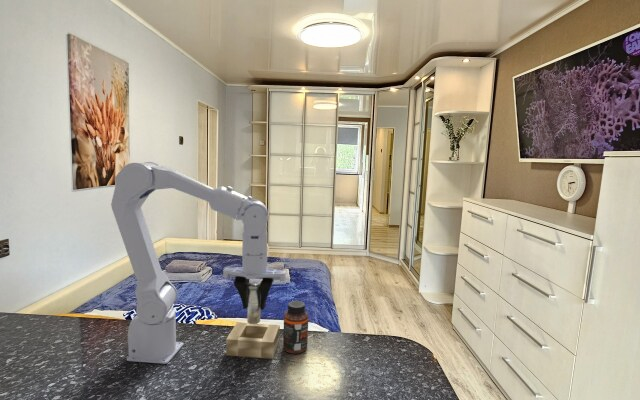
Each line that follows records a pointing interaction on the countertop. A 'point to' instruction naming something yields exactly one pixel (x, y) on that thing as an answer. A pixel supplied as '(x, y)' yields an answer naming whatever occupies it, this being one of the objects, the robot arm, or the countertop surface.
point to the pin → (253, 302)
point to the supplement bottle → (295, 328)
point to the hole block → (253, 340)
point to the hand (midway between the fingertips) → (254, 307)
